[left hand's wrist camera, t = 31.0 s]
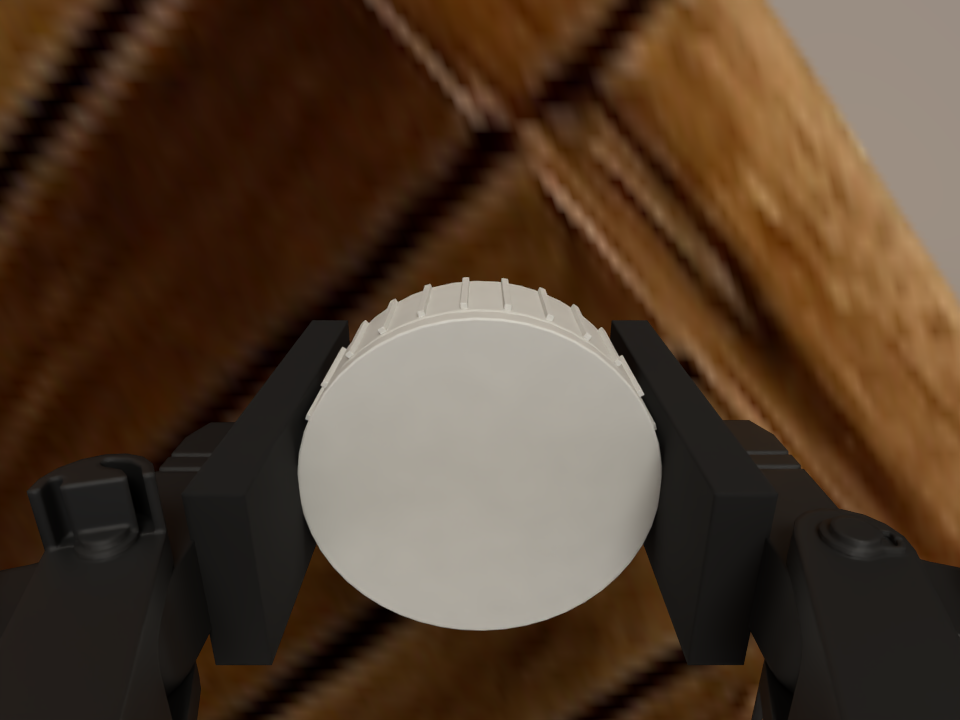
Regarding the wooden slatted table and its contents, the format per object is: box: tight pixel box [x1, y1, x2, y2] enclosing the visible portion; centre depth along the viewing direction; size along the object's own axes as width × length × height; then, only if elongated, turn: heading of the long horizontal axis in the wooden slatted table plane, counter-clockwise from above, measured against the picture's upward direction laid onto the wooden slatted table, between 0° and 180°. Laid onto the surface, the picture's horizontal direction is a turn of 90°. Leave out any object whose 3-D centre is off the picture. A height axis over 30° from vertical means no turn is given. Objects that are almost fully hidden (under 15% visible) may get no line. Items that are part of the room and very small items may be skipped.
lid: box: [298, 277, 662, 631], centre depth 11 cm, size 6×6×2 cm
